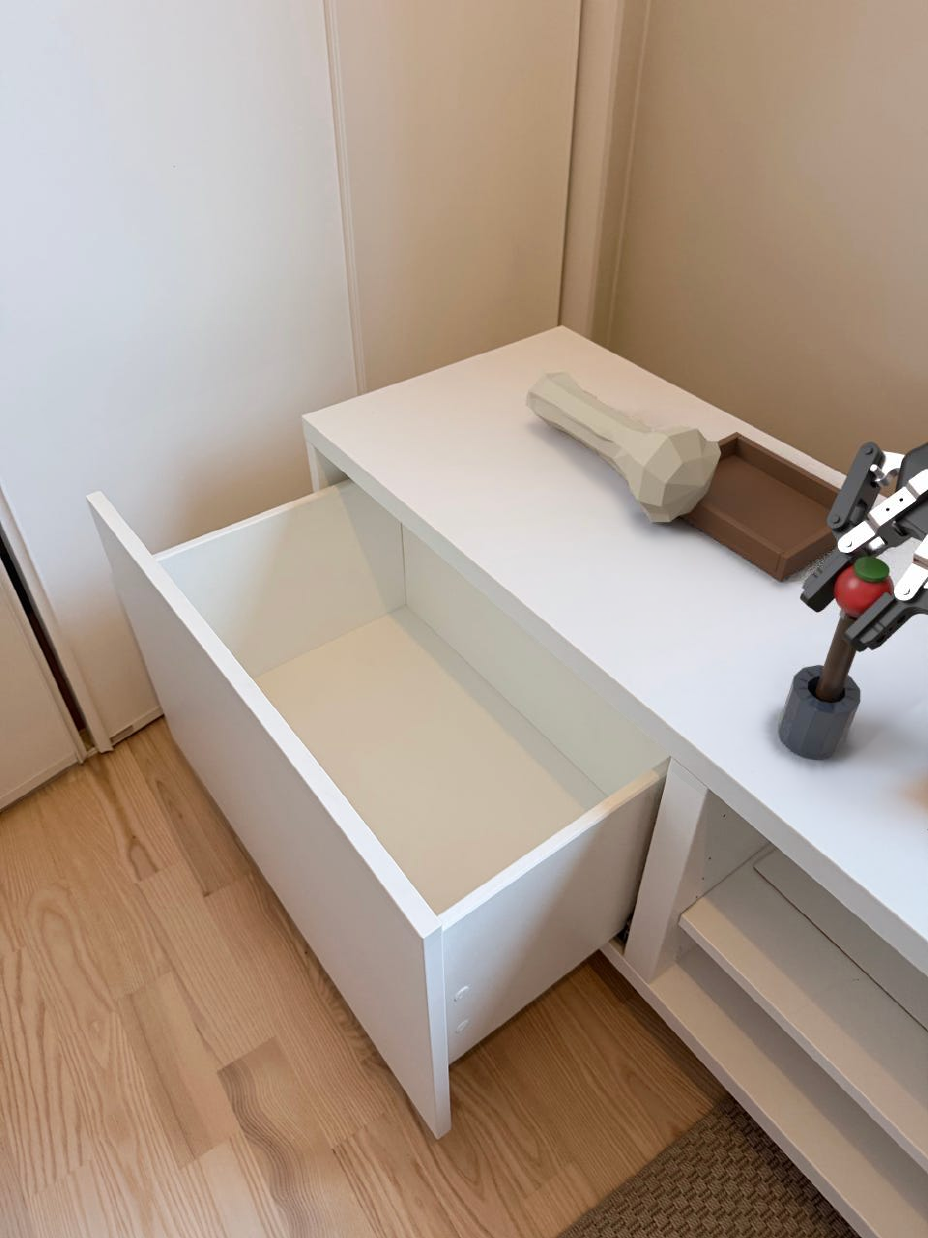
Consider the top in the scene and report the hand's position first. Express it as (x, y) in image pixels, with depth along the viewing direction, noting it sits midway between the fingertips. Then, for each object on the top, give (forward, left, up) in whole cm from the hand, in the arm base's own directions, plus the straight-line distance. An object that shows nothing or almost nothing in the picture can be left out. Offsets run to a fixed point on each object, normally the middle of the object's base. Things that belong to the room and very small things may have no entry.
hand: (830, 624), depth 58 cm
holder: (+1, -2, -12) cm, 12 cm away
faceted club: (+36, +1, -12) cm, 38 cm away
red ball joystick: (0, -2, -7) cm, 8 cm away
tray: (+26, -9, -12) cm, 30 cm away
